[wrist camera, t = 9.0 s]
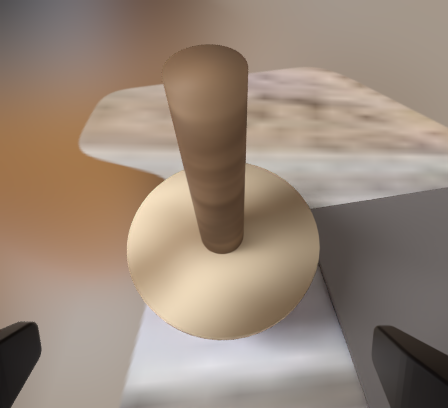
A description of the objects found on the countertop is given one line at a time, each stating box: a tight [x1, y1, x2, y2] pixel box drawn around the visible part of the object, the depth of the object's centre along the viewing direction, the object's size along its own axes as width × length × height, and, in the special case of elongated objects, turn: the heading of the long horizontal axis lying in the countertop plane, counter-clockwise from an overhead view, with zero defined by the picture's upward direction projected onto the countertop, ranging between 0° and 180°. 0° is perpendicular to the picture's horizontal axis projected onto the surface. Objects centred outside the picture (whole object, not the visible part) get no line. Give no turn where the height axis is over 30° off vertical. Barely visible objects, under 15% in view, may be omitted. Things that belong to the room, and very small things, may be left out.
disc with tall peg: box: [127, 45, 320, 340], centre depth 14 cm, size 12×12×12 cm
